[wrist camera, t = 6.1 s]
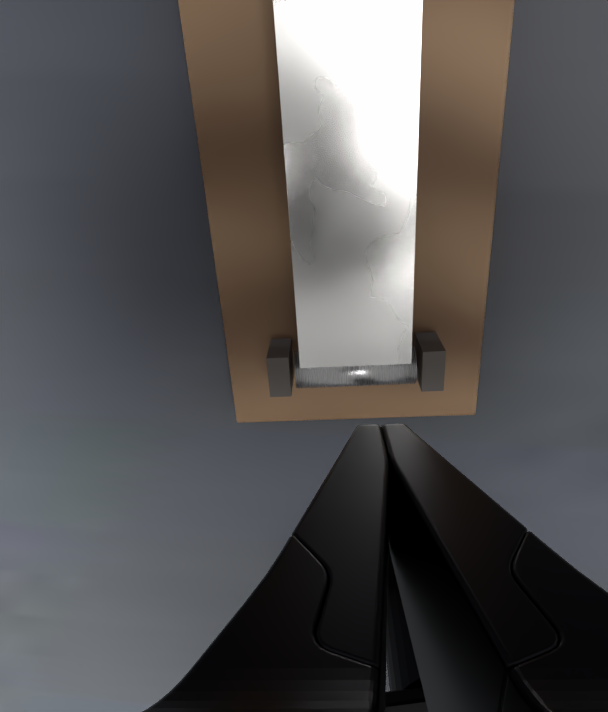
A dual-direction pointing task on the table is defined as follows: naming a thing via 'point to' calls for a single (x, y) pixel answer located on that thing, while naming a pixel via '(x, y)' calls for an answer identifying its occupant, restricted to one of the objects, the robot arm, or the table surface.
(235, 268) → the walnut board
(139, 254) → the table surface
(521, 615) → the robot arm
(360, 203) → the bar
